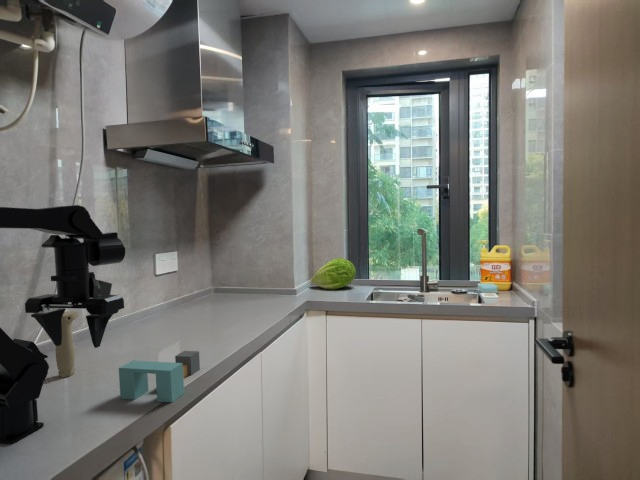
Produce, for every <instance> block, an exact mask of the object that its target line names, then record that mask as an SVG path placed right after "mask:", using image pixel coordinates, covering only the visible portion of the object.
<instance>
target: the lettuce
mask: <svg viewBox="0 0 640 480" xmlns="http://www.w3.org/2000/svg"><path fill="white" fill-rule="evenodd" d="M356 271H357V270H356V267H355V265H354V263H353V262H351V261H350V260H348V259H345V258H343V257H337V258H335V259H331V260H330V261H327V263H325V265H323V266H322V267H320V268H319V269H318V270H317V272H316V273H315V274H314V275H313V276H312V277H311V278H310V283H311V284H312V285H313V286H318V287H320V288H322V289H325V290H338V289H342V288H343V287H346V286H349V285H351V283H352V282H353V281H354V280H355V278H356V274H357V272H356Z"/></svg>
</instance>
